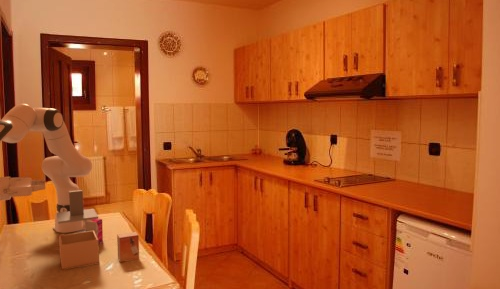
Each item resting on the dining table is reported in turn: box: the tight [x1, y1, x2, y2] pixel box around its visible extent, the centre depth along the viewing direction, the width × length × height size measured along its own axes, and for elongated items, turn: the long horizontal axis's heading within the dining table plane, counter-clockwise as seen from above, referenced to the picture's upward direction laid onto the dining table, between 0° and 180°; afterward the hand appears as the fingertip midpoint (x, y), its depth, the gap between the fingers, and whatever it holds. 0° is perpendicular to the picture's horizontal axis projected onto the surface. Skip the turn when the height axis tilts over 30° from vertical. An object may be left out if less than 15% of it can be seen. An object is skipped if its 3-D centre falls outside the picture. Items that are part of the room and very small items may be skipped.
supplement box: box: [84, 218, 104, 245], centre depth 189 cm, size 6×6×12 cm
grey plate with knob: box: [56, 189, 99, 224], centre depth 166 cm, size 15×15×11 cm
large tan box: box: [58, 231, 100, 271], centre depth 168 cm, size 14×14×10 cm
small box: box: [116, 231, 140, 263], centre depth 170 cm, size 8×6×10 cm
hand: (45, 184), depth 160 cm, fingers open, 8 cm apart
